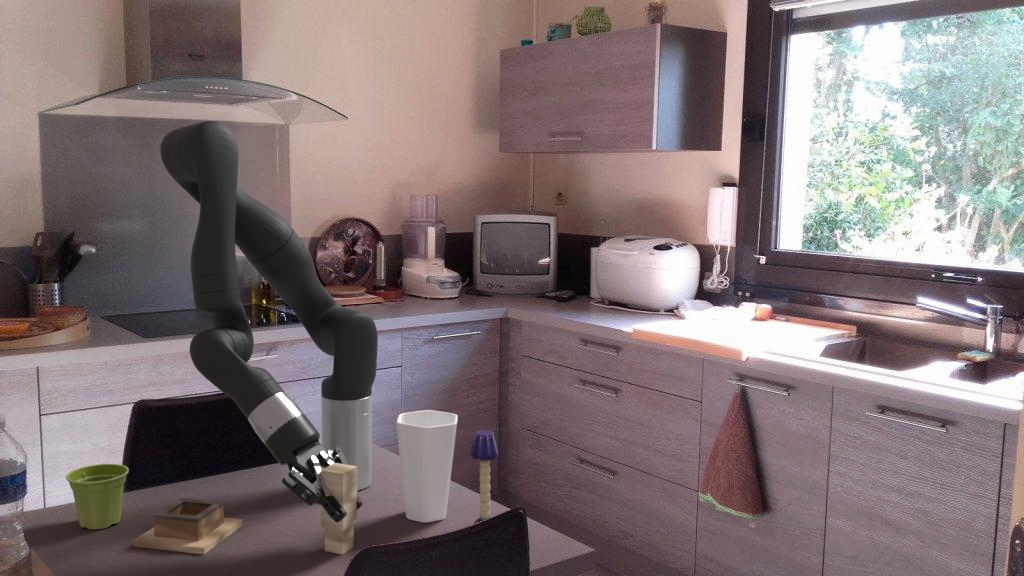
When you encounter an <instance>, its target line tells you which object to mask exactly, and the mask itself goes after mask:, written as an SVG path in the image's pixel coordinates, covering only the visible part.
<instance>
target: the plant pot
mask: <svg viewBox="0 0 1024 576" xmlns="http://www.w3.org/2000/svg"><path fill="white" fill-rule="evenodd" d="M129 469H130V468H129V467H127V465H124V464H119V463H98V464H92V465H86V466H83V467H79V468H78V467H77V468H76V469H74V470H71V471H70V472H68V473H67V474H66V475H65V479H66V481H67V482H68V483H69V487H70V489H71V490H72V495H73V499H74V503H75V508H76V512H77V517H78V518H77V519H78V522H79V526H80V527H81V528H86V529H87V530H100V529H101V530H102V529H106V528H109V527H111V525H113V524H115V525H117V524H118V523H119V522H120V521H121V516H122V504H123V498H124V497H123V495H124V485H125V482H126V479H127V475H128V474H129V471H130V470H129Z"/></svg>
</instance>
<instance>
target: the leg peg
mask: <svg viewBox="0 0 1024 576" xmlns="http://www.w3.org/2000/svg"><path fill="white" fill-rule="evenodd" d="M321 475H322V476H323V478H324V479H325V485H326V486H327V487H328V489H329V490H330V492H331V496H332V495H333V496H334V497H335V498H336V500H337V501H338V502H339V504H340V505H341V506H342V507H343V508H344V510H345V511H346V512H347V515H346V516H345V517H344V518H343V519H342V520H341V521H340V522H338V523H337V522H335V521H334V520H333V519H332V518H331V517H330V516H329V515H328V513H327V512H326V511H325V509H324V508H323V507H322V506H321V505H320V527H321V528H324V552H328V553H333V554H338V555H344V554H346V553H347V552H348V551H350V550H351V549H353V548H354V546H355V544H354V542H355V541H354V540H355V539H354V536H355V535H354V533H355V531H354V530H355V529H354V528H355V527H354V526H355V524H357V522H358V510H357V495H358V490H357V466H352V465H346V464H340V463H334V464H332V465H330V466H328V467H326V468H324V469H322V470H321Z"/></svg>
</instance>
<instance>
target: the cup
mask: <svg viewBox="0 0 1024 576" xmlns="http://www.w3.org/2000/svg"><path fill="white" fill-rule="evenodd" d="M395 423H396V424H395V425H396V433H397V442H398V443H397V444H398V452H399V461H400V471H401V472H400V473H401V481H402V491H403V499H404V500H403V501H404V509H405V510H404V511H405V517H406V518H407V519H408V520H411V521H415V522H420V523H432V522H436V521H442V520H445V519H447V512H448V504H449V496H450V488H451V487H450V485H451V477H452V469H453V460H454V451H455V444H456V435H457V425H458V414H456V413H451V412H447V411H446V412H445V411H440V410H434V409H426V410H416V411H410V412H404V413H400V414H398V416H397V419H396V422H395Z"/></svg>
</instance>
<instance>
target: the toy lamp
mask: <svg viewBox="0 0 1024 576" xmlns="http://www.w3.org/2000/svg"><path fill="white" fill-rule="evenodd" d="M469 454H470V457H471V458H472V459H473V460H476V461H478V462H479V465H480V466H479V474H480V475H479V482H480V484H479V500H480V503H479V509H480V510H479V518H477V519H476V520H475V521H474V522H473V524H475V523H477V522H480V521H483V520H486V519H488V518H491V511H490V510H491V493H490V491H491V487H492V486H491V484H490V483H491V475H490V474H491V466H490V464H491V461H492V460H493V461H494V460H496V459H497V458H498V457H499V449H498V445H497V441H496V438H495V434H494V432H493V431H491V430H488V429H483V430H478V431H476V432H475V433H474V437H473V440H472V445H471V449H470V453H469Z"/></svg>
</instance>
